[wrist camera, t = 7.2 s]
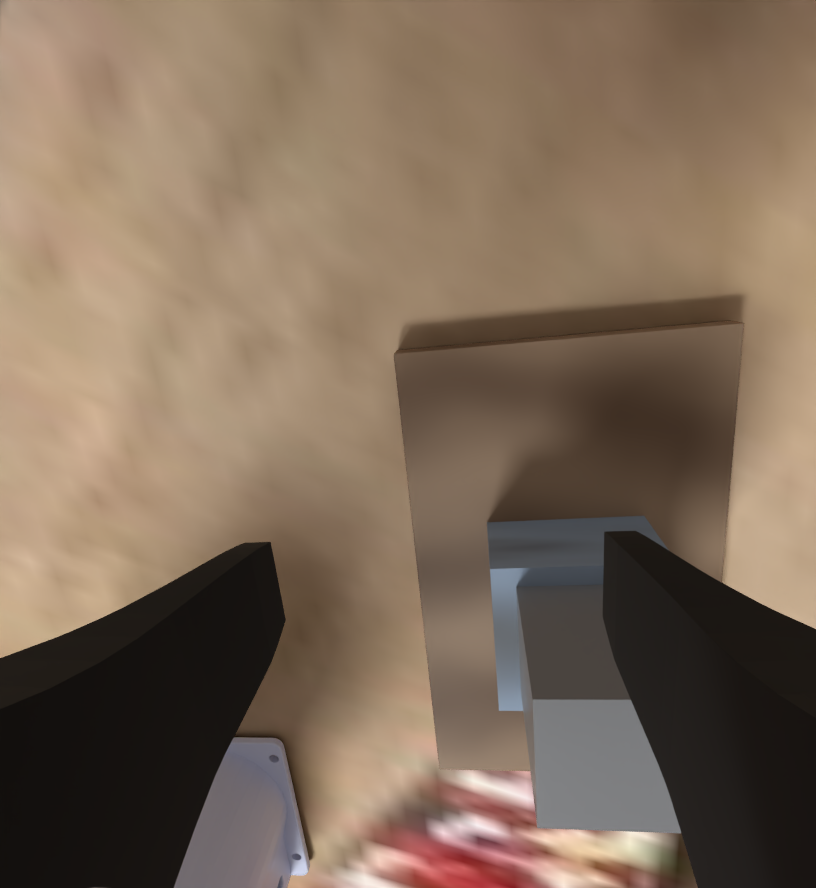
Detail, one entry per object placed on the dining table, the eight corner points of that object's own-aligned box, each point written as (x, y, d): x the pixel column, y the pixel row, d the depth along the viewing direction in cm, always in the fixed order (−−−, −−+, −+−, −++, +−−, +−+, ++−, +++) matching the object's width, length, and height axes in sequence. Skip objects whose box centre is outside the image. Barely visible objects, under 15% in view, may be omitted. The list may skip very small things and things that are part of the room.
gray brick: (647, 691, 19) (707, 833, 14) (520, 691, 19) (537, 828, 15) (652, 583, 17) (720, 700, 13) (516, 586, 18) (532, 699, 13)
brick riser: (695, 755, 25) (742, 856, 21) (440, 751, 26) (434, 843, 22) (730, 320, 19) (806, 335, 15) (397, 350, 20) (378, 371, 16)
